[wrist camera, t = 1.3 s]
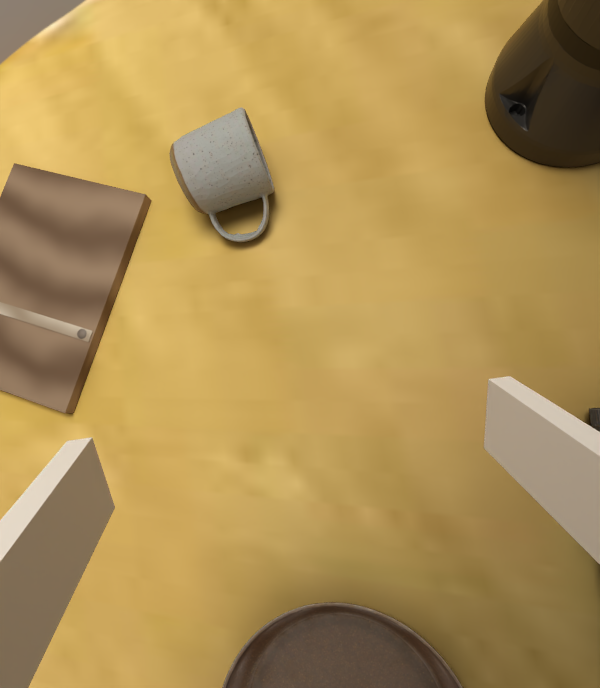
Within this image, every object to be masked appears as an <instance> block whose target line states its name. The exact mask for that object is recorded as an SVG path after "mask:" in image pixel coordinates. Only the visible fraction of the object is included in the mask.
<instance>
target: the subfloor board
mask: <svg viewBox="0 0 600 688" xmlns="http://www.w3.org/2000/svg"><path fill="white" fill-rule="evenodd" d="M150 203H151V200H150V199H149V198H148V197H147V196H146V195H145V194H141V193H137V192H133V191H128V190H124V189H120V188H116V187H112V186H107V185H103V184H99V183H95V182H91V181H86V180H82V179H78V178H74V177H69V176H65V175H61V174H57V173H53V172H48V171H44V170H40V169H36V168H31V167H27V166H23V165H19V164H15V163H14V165H13V168H12V170H11V172H10V175H9V177H8V180H7V182H6V185H5V187H4V190H3V192H2V194H1V197H0V390H2V391H5V392H8V393H10V394H13V395H16V396H19V397H21V398H24V399H27V400H30V401H32V402H35V403H38V404H41V405H44V406H46V407H49V408H52V409H55V410H57V411H60V412H63V413H74V410H75V408H76V405H77V402H78V399H79V397H80V394H81V391H82V389H83V386H84V383H85V380H86V378H87V375H88V372H89V369H90V367H91V364H92V361H93V358H94V356H95V353H96V350H97V348H98V345H99V342H100V339H101V337H102V334H103V331H104V328H105V326H106V323H107V320H108V317H109V315H110V312H111V309H112V307H113V304H114V301H115V298H116V296H117V293H118V290H119V287H120V285H121V282H122V279H123V276H124V274H125V271H126V268H127V265H128V263H129V260H130V257H131V255H132V252H133V249H134V246H135V244H136V241H137V238H138V235H139V233H140V230H141V227H142V224H143V222H144V219H145V216H146V214H147V211H148V208H149V205H150Z"/></svg>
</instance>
